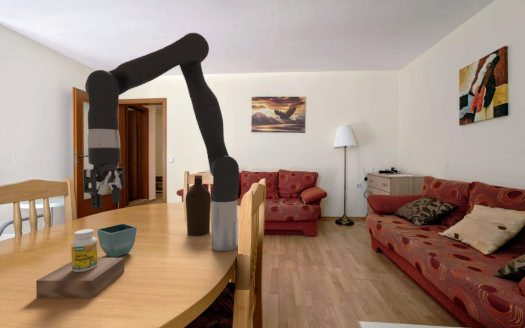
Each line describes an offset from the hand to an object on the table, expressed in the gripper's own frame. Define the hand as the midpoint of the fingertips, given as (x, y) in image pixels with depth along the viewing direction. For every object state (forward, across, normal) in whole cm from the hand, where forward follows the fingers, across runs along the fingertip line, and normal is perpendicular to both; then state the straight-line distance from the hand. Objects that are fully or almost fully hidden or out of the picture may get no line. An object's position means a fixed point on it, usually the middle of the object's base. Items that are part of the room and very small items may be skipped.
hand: (107, 205), depth 67 cm
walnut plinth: (+19, -5, +4) cm, 20 cm away
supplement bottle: (+15, -5, +3) cm, 17 cm away
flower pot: (+20, +14, +6) cm, 25 cm away
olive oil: (+20, +38, -15) cm, 45 cm away
